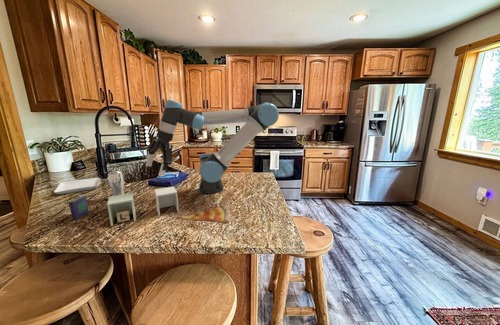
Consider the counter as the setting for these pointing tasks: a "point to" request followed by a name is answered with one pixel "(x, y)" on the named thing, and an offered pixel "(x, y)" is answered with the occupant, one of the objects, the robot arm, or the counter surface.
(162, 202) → the grey mini stool
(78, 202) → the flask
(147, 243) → the counter surface
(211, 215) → the pizza slice
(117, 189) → the beer glass
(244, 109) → the robot arm
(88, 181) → the salad plate
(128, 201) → the sage hood
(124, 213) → the letter cube
